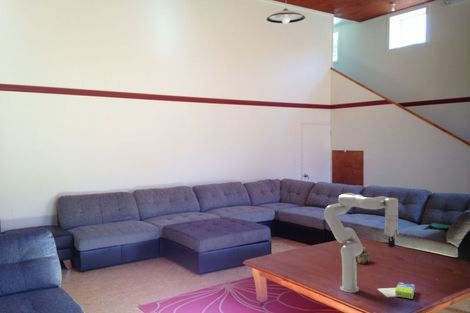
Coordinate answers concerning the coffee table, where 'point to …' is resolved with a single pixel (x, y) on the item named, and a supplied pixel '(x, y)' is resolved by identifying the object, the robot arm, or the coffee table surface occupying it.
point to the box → (405, 290)
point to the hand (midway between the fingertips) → (391, 246)
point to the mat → (388, 292)
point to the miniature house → (362, 257)
